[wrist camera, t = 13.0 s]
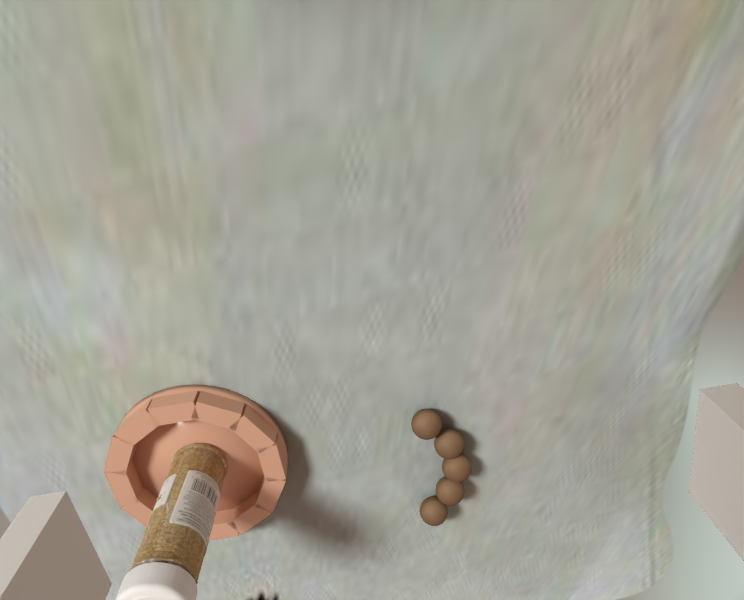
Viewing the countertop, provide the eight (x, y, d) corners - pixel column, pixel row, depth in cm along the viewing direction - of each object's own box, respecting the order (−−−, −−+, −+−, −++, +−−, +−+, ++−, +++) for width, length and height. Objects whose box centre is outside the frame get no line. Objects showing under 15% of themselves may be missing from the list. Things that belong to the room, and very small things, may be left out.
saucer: (89, 400, 44) (76, 417, 42) (266, 371, 43) (263, 387, 41) (146, 532, 49) (137, 553, 47) (303, 507, 49) (301, 527, 47)
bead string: (403, 406, 45) (406, 424, 43) (461, 396, 45) (468, 414, 43) (419, 513, 50) (423, 534, 48) (472, 504, 50) (479, 525, 48)
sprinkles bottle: (162, 451, 45) (96, 601, 33) (214, 433, 45) (167, 578, 32) (189, 492, 47) (136, 649, 35) (239, 475, 46) (204, 628, 34)
